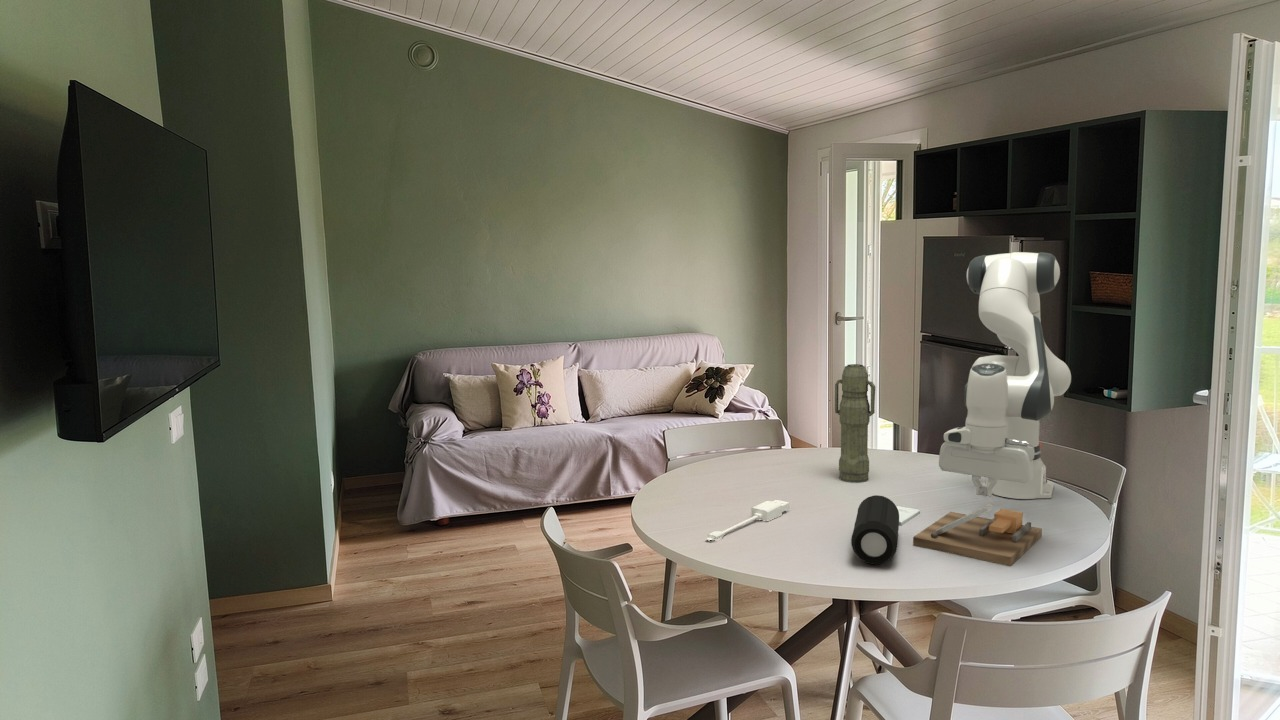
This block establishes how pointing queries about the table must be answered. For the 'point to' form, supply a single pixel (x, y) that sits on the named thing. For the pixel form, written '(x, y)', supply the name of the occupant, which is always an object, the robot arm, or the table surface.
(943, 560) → the table surface
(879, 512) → the portable speaker
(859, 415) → the thermos
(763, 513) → the charging cable
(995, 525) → the bolt
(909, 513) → the external hard drive
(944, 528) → the grey flat bar
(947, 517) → the base
